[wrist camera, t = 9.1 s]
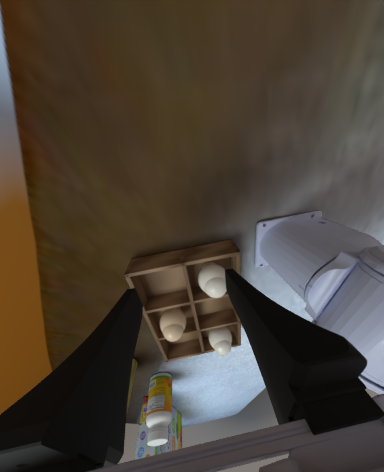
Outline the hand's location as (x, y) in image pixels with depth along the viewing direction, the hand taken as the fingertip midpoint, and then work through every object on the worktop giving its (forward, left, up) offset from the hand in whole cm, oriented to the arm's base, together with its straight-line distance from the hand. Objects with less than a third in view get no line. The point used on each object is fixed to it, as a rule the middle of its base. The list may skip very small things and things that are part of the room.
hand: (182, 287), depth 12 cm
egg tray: (0, +13, -9) cm, 16 cm away
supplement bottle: (+12, +38, -10) cm, 41 cm away
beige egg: (+4, +13, -9) cm, 16 cm away
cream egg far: (-4, +20, -9) cm, 22 cm away
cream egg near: (-4, +6, -9) cm, 11 cm away
